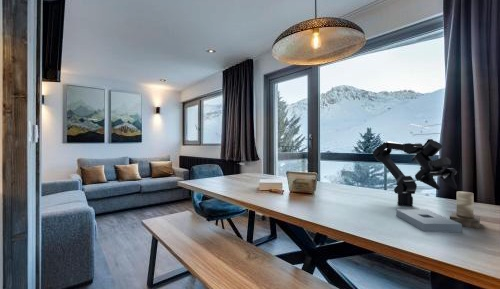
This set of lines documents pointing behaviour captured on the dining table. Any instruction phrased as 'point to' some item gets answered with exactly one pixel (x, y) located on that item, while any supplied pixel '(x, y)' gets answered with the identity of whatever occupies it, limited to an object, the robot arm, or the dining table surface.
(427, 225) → the board
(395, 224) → the dining table surface
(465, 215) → the leg
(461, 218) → the frame
